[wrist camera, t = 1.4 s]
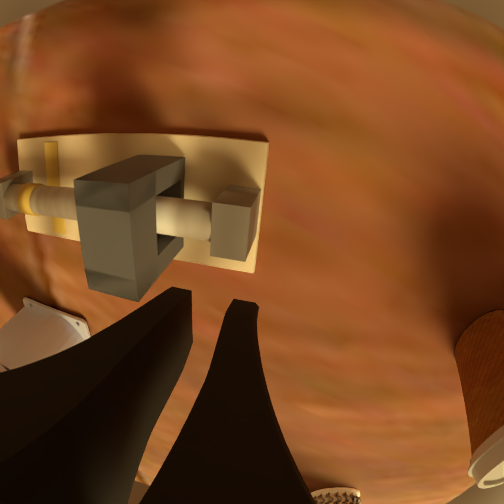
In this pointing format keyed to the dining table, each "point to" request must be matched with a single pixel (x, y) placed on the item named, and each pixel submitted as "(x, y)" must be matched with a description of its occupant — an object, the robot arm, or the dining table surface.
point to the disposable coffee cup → (484, 395)
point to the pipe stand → (167, 208)
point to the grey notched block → (127, 223)
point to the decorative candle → (337, 496)
